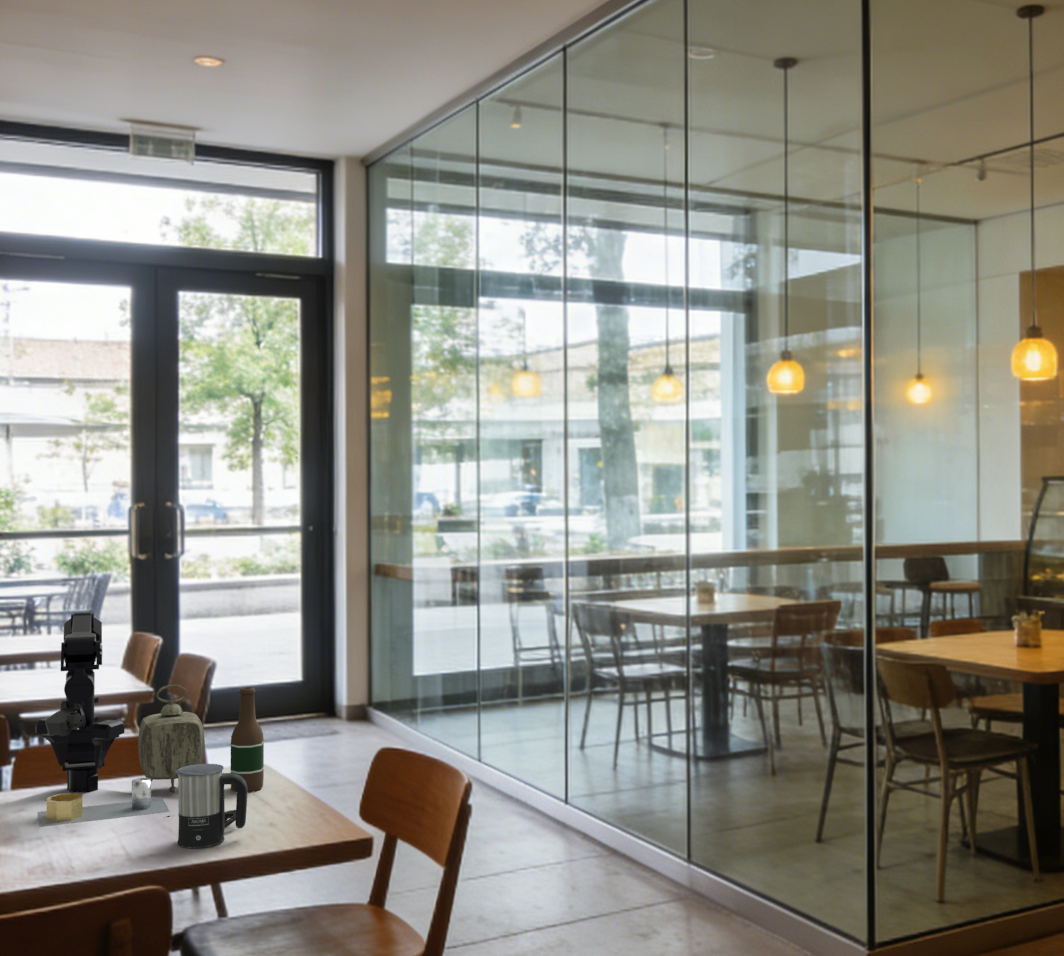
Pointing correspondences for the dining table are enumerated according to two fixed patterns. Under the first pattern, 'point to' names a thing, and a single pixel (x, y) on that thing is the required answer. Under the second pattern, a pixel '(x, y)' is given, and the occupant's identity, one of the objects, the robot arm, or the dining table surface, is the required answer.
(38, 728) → the robot arm
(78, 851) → the dining table surface
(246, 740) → the beer bottle
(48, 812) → the brass ring
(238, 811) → the milk frother
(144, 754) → the tabletop clock
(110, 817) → the fit board
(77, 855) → the dining table surface
